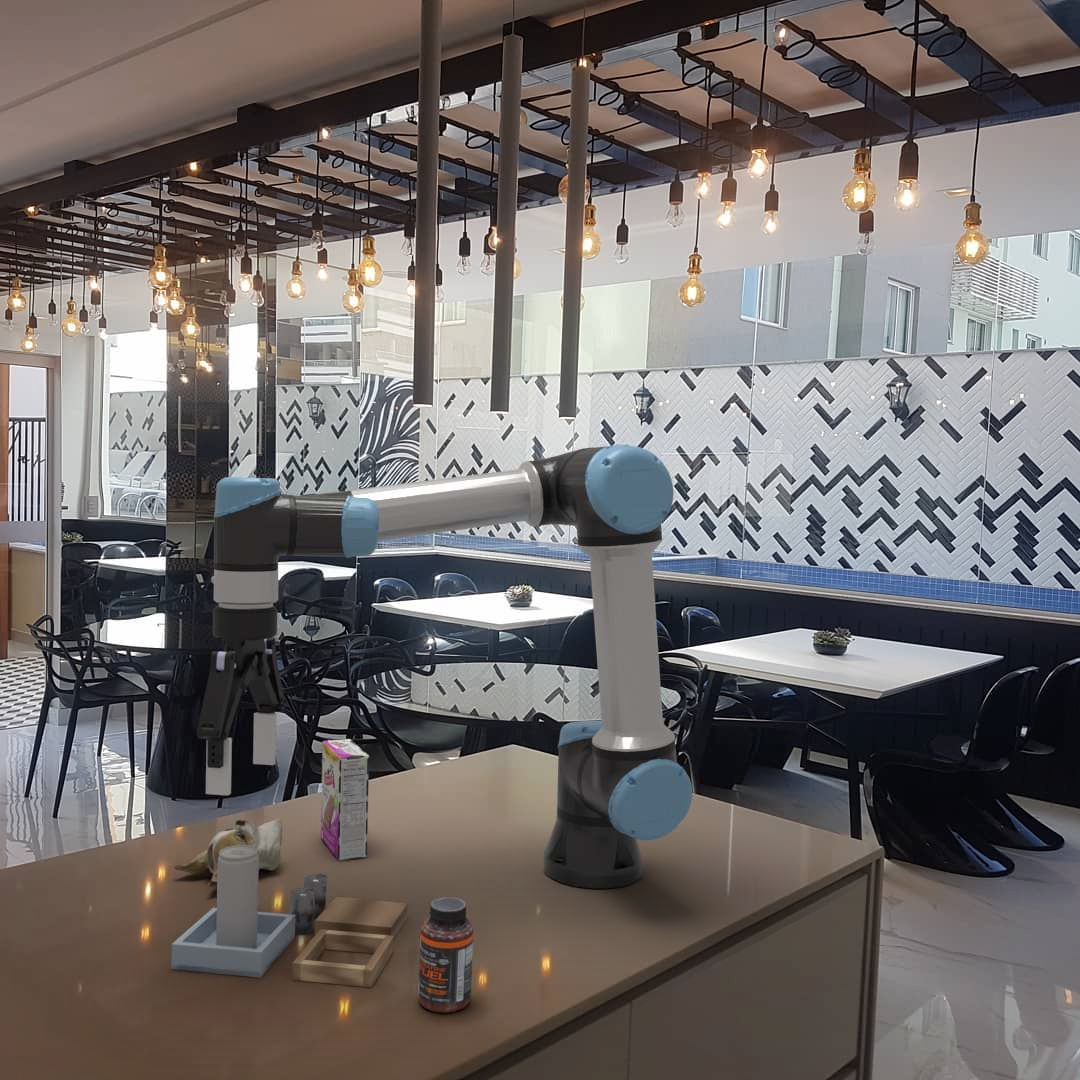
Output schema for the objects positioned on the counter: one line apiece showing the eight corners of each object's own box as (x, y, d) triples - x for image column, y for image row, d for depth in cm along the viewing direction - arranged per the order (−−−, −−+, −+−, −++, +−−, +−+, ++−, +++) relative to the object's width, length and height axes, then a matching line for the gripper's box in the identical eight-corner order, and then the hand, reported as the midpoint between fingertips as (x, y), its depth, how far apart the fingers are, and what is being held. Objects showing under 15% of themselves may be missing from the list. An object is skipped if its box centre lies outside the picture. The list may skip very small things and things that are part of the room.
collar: (393, 951, 128) (393, 935, 128) (371, 987, 119) (371, 970, 119) (319, 944, 129) (320, 929, 129) (292, 979, 120) (292, 962, 120)
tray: (294, 938, 131) (295, 914, 131) (260, 977, 120) (261, 952, 120) (212, 930, 133) (213, 907, 132) (171, 969, 122) (171, 944, 122)
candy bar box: (318, 839, 168) (321, 740, 168) (348, 836, 171) (351, 737, 170) (336, 862, 158) (339, 756, 158) (368, 858, 161) (371, 754, 160)
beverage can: (245, 958, 124) (247, 860, 123) (208, 953, 125) (210, 855, 124) (263, 941, 128) (265, 846, 128) (228, 937, 129) (230, 843, 129)
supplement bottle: (407, 1007, 115) (410, 907, 114) (434, 985, 120) (437, 889, 120) (455, 1020, 112) (458, 917, 112) (480, 996, 118) (483, 899, 117)
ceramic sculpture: (300, 815, 153) (209, 844, 142) (302, 872, 153) (211, 906, 142) (260, 800, 160) (170, 827, 149) (262, 854, 160) (172, 885, 149)
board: (407, 921, 139) (407, 903, 139) (390, 946, 131) (390, 927, 131) (335, 914, 140) (336, 896, 140) (314, 939, 132) (315, 920, 132)
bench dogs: (329, 911, 140) (330, 874, 140) (308, 935, 132) (309, 897, 132) (308, 909, 140) (309, 873, 140) (286, 933, 132) (287, 895, 132)
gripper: (256, 593, 138) (254, 751, 139) (166, 614, 113) (163, 806, 114) (311, 596, 137) (307, 754, 138) (231, 617, 112) (228, 810, 113)
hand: (242, 778), depth 126 cm, fingers open, 13 cm apart
